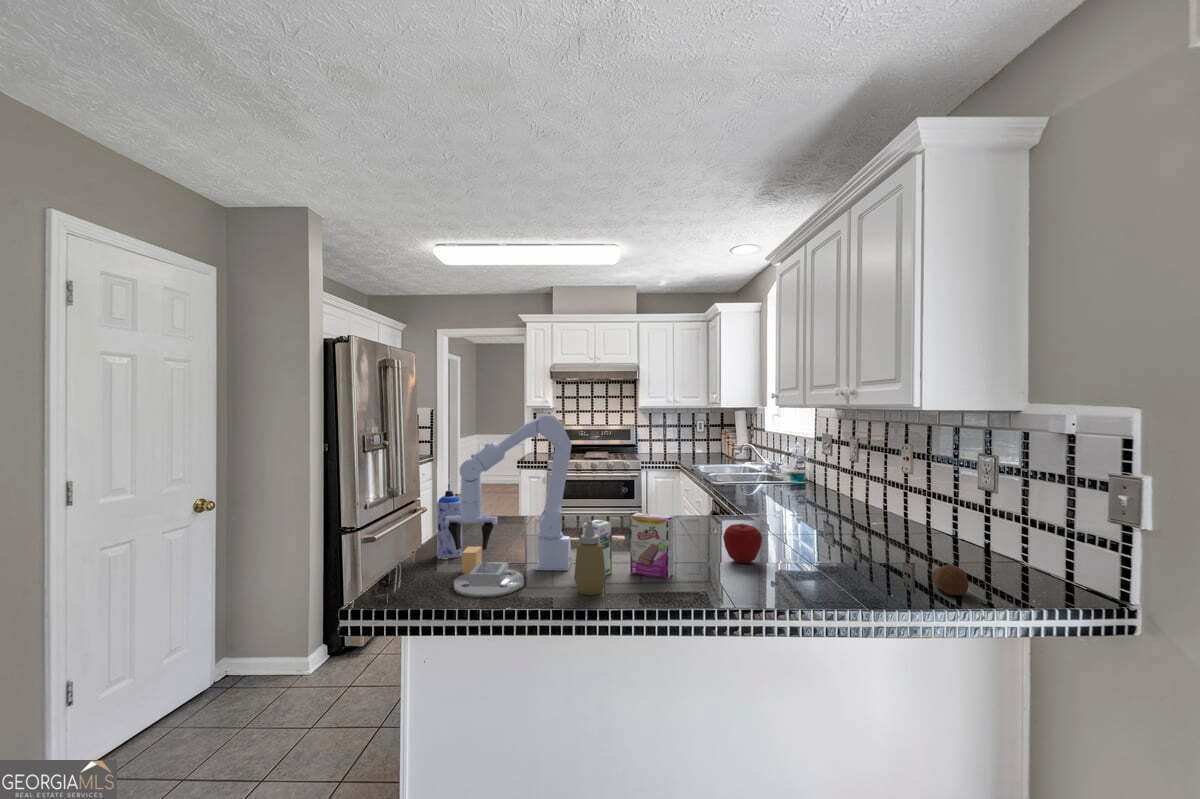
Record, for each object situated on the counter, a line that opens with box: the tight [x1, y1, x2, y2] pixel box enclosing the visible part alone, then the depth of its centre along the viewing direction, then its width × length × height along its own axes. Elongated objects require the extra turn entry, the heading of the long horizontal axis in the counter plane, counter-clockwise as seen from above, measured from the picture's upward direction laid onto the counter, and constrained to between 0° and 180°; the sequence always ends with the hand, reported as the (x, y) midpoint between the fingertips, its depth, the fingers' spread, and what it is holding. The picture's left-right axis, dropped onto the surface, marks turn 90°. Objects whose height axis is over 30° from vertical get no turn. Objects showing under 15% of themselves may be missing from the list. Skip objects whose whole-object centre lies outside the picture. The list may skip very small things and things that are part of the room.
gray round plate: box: [453, 561, 525, 598], centre depth 151 cm, size 18×18×4 cm
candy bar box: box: [629, 512, 674, 580], centre depth 158 cm, size 11×5×16 cm, turn 65°
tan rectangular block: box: [461, 546, 483, 574], centre depth 163 cm, size 4×6×6 cm, turn 177°
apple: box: [722, 522, 763, 564], centre depth 169 cm, size 11×11×12 cm
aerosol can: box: [436, 490, 463, 559], centre depth 178 cm, size 8×8×20 cm
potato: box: [931, 564, 969, 597], centre depth 143 cm, size 7×10×7 cm
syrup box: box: [582, 519, 613, 576], centre depth 159 cm, size 6×6×14 cm
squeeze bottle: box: [573, 520, 607, 596], centre depth 145 cm, size 8×8×18 cm
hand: (471, 548), depth 163 cm, fingers open, 7 cm apart
